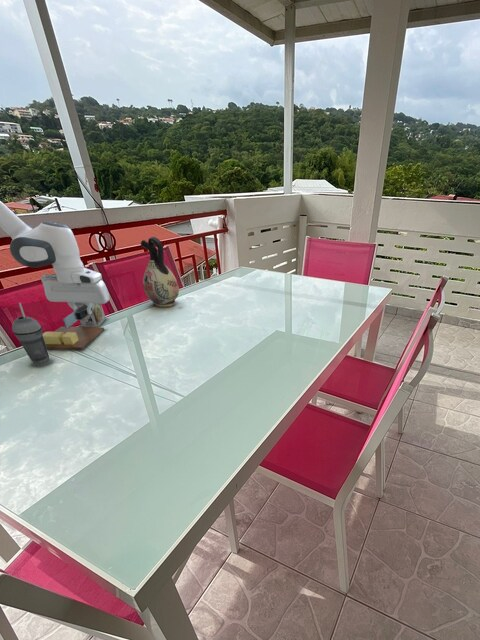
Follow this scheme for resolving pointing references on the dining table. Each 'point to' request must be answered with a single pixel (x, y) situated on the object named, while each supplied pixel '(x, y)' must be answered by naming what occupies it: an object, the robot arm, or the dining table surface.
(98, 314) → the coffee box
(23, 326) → the beverage cup
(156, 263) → the ceramic jug
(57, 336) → the butter block
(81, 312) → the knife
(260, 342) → the dining table surface
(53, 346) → the cutting board
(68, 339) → the butter slice
